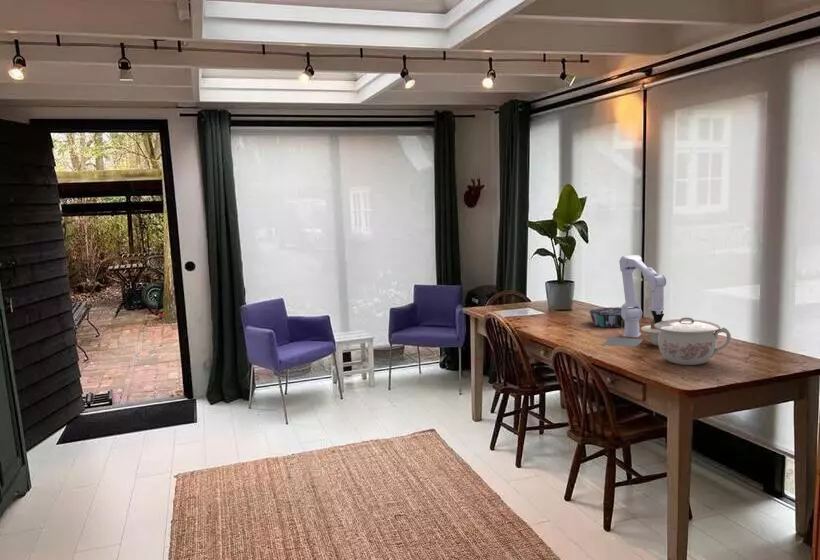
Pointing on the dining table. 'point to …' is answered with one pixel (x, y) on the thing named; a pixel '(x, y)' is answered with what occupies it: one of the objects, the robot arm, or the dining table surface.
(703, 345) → the chamber pot
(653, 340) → the teacup
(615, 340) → the mat
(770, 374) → the dining table surface
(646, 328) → the lid
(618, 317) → the decorative bowl
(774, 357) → the dining table surface
